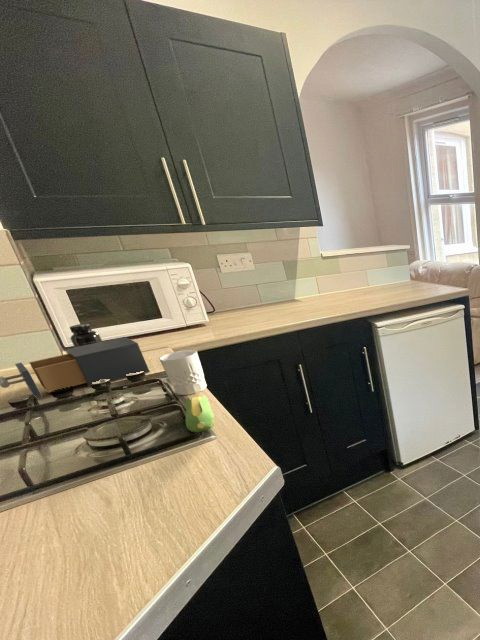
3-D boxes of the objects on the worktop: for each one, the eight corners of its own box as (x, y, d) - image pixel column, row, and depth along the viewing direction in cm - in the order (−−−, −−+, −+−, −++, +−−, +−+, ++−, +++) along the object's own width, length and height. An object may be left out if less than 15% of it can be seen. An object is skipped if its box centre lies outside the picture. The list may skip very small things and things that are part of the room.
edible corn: (190, 440, 87) (182, 421, 85) (186, 407, 102) (179, 390, 100) (219, 432, 90) (212, 413, 88) (211, 401, 104) (205, 384, 103)
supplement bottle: (114, 355, 143) (98, 321, 138) (103, 361, 137) (86, 326, 132) (89, 358, 141) (72, 323, 136) (77, 365, 135) (59, 329, 130)
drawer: (11, 404, 106) (-5, 377, 103) (5, 394, 112) (-10, 369, 109) (98, 381, 118) (86, 357, 115) (88, 373, 125) (77, 350, 122)
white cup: (188, 384, 116) (175, 350, 111) (216, 383, 115) (203, 349, 111) (166, 396, 108) (151, 360, 104) (195, 396, 108) (181, 359, 104)
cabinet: (90, 387, 117) (75, 356, 113) (79, 378, 124) (65, 349, 120) (149, 371, 127) (137, 342, 123) (137, 363, 134) (125, 336, 130)
